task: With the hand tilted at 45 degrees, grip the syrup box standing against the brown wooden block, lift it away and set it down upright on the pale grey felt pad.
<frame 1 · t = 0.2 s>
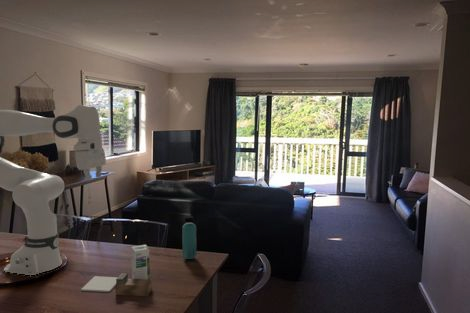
hand: (94, 178, 150), 39 cm above the table, tool pointing down, fingers open, 8 cm apart
beverage bottle: (189, 259, 167), on the table
felt pad: (101, 284, 142), on the table
syrup box: (141, 283, 144), on the table
brown wooden block: (134, 292, 136), on the table
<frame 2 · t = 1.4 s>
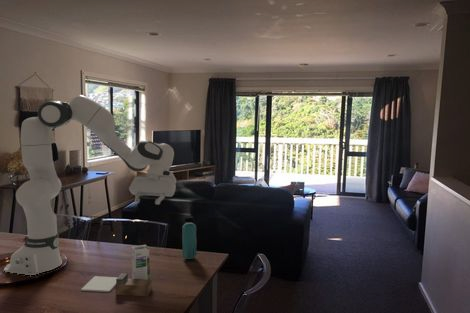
hand: (146, 203, 154), 29 cm above the table, tool tilted 45°, fingers open, 8 cm apart
nothing on the table moved.
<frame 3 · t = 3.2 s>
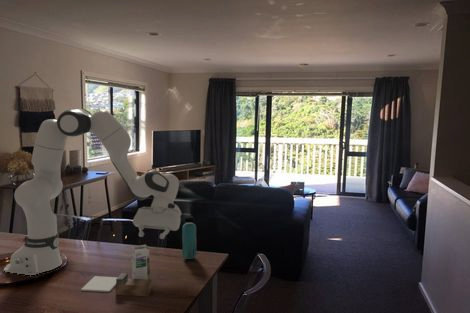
hand: (151, 237, 150), 16 cm above the table, tool tilted 45°, fingers open, 8 cm apart
nothing on the table moved.
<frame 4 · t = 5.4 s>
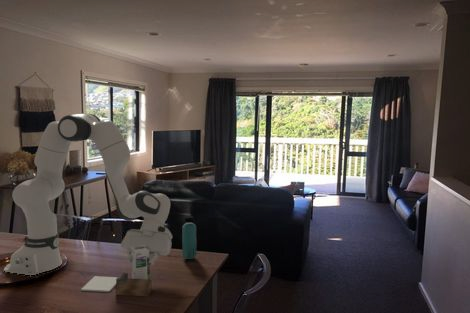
hand: (139, 262, 142), 8 cm above the table, tool tilted 45°, fingers closed on syrup box, 8 cm apart
syrup box: (141, 283, 144), on the table, touching gripper
everything else where it was.
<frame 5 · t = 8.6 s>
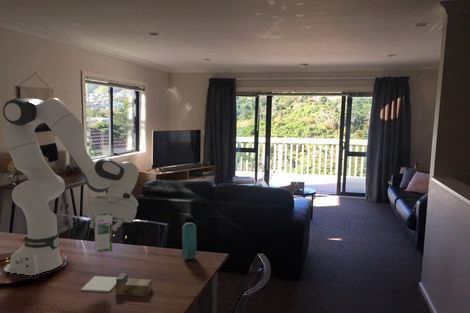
hand: (102, 228, 139), 22 cm above the table, tool tilted 45°, fingers closed on syrup box, 8 cm apart
syrup box: (103, 251, 141), point 13 cm above the table, touching gripper
everything else where it was.
when the fingers open (10 cm above the table, at t = 12.0 s): syrup box stays where it is, resting on felt pad.
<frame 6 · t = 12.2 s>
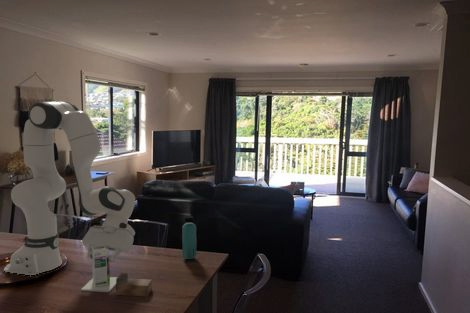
hand: (99, 259, 140), 10 cm above the table, tool tilted 45°, fingers open, 8 cm apart
syrup box: (101, 283, 142), resting on felt pad, touching gripper
everything else where it was.
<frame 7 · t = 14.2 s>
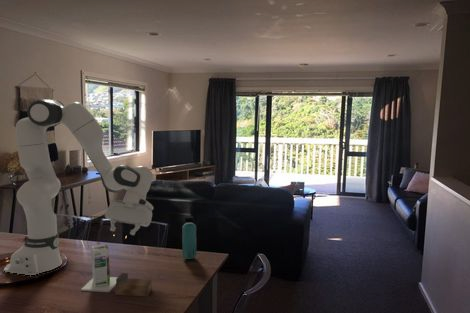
hand: (121, 232, 152), 17 cm above the table, tool tilted 35°, fingers open, 8 cm apart
syrup box: (101, 283, 142), resting on felt pad
everything else where it was.
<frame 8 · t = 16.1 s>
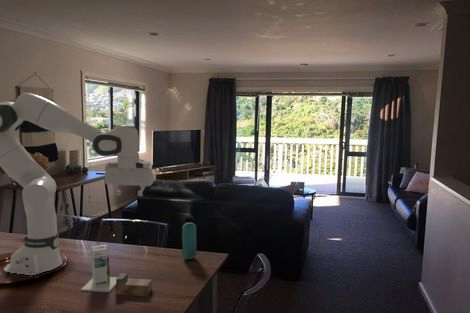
hand: (129, 195, 157), 31 cm above the table, tool pointing down, fingers open, 8 cm apart
nothing on the table moved.
at the end: syrup box 0.2 cm from the felt pad (horizontally); syrup box tilted 0°; the gripper is holding nothing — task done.
